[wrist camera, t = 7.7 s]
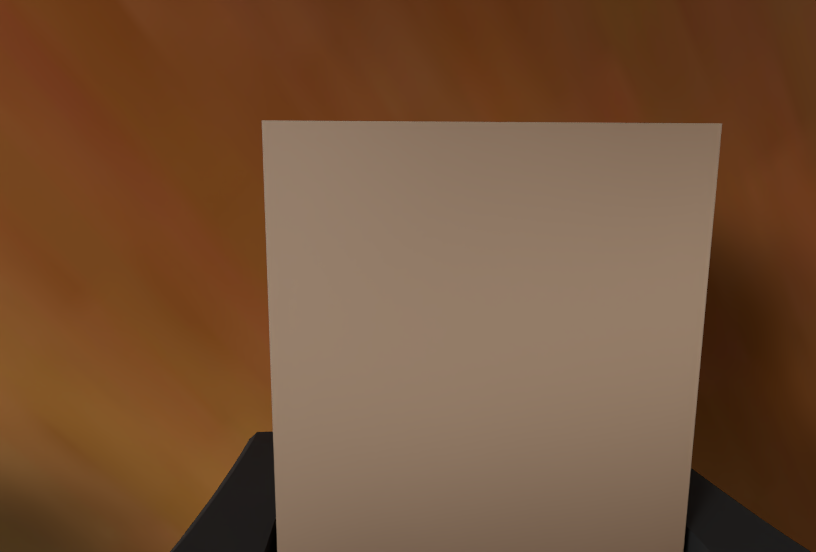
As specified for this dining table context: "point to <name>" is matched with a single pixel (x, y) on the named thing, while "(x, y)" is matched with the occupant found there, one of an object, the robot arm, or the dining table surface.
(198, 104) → the dining table surface
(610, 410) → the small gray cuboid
